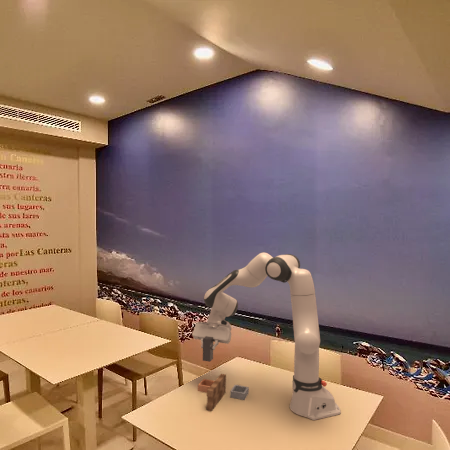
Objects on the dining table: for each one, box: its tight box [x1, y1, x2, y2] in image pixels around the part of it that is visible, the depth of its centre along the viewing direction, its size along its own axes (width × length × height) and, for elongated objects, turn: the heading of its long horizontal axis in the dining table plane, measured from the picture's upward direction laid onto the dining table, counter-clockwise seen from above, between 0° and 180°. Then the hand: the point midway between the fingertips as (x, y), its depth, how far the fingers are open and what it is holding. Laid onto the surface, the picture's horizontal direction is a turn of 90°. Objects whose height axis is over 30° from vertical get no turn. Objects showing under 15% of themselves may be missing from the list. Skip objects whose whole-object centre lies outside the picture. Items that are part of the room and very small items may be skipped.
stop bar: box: [202, 336, 214, 362], centre depth 176 cm, size 4×4×11 cm
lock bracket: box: [197, 378, 216, 394], centre depth 177 cm, size 7×7×3 cm
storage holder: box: [229, 384, 250, 401], centre depth 171 cm, size 7×7×3 cm
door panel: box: [206, 373, 227, 412], centre depth 165 cm, size 18×4×9 cm, turn 160°
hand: (207, 348), depth 176 cm, fingers closed on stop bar, 4 cm apart
